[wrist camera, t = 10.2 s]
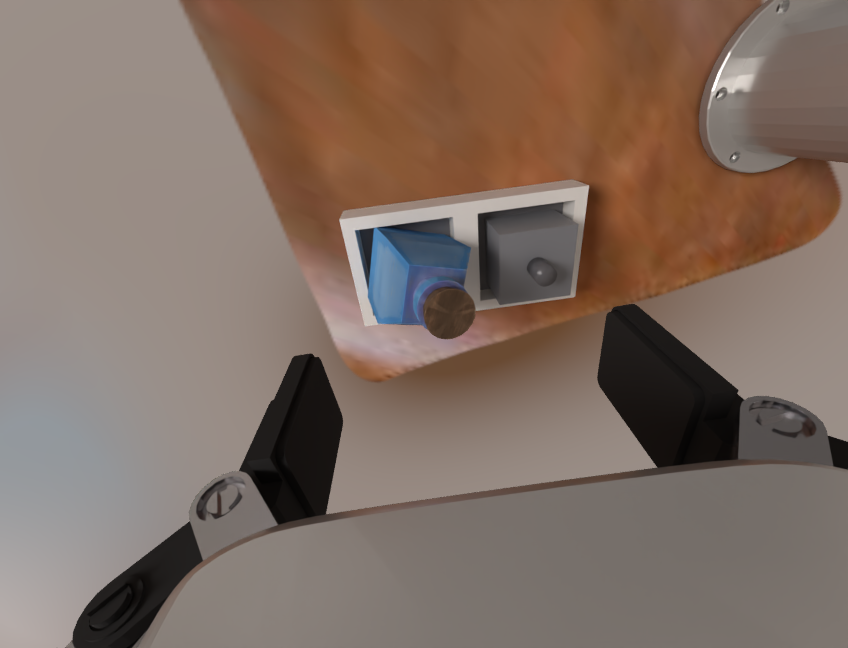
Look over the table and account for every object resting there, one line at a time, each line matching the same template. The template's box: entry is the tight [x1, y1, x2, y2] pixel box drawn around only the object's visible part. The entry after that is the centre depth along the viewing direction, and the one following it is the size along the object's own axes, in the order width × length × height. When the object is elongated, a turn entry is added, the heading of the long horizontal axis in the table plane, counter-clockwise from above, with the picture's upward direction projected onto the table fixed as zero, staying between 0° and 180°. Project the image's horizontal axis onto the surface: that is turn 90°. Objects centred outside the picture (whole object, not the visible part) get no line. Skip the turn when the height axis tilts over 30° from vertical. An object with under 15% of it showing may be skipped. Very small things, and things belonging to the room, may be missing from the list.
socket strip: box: [339, 179, 589, 326], centre depth 31 cm, size 20×10×3 cm, turn 97°
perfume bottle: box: [368, 227, 476, 339], centre depth 26 cm, size 6×6×12 cm
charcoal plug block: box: [485, 209, 579, 305], centre depth 29 cm, size 6×6×7 cm
